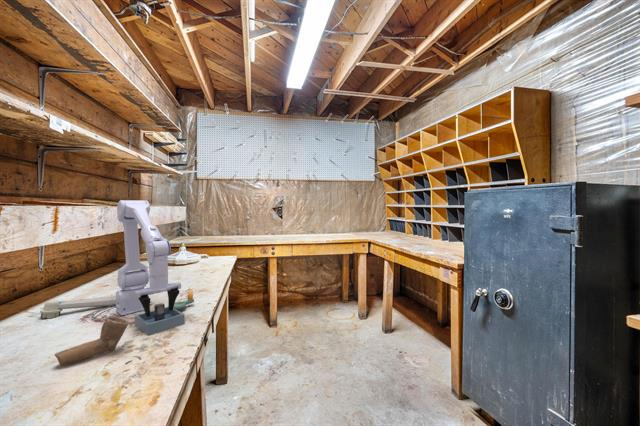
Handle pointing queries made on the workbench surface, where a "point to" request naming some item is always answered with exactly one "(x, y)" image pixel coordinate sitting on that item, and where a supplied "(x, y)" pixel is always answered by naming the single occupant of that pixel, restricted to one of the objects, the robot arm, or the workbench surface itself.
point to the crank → (183, 304)
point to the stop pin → (159, 312)
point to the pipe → (96, 342)
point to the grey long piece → (74, 305)
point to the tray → (152, 327)
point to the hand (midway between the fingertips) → (159, 312)
